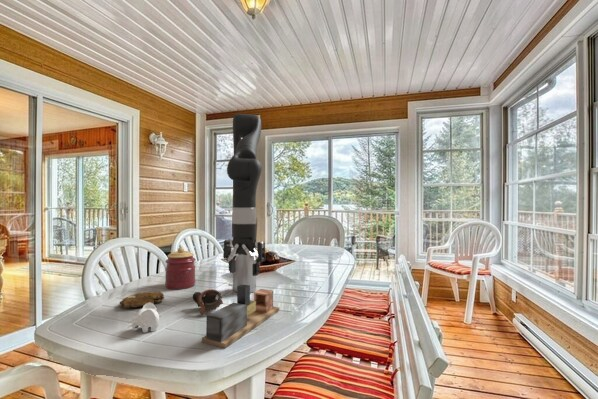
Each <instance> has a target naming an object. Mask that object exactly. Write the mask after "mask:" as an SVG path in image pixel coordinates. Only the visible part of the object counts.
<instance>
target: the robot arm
mask: <svg viewBox="0 0 598 399" xmlns="http://www.w3.org/2000/svg"><path fill="white" fill-rule="evenodd" d="M261 134H262V119H261V117H260V116H259V115H257V114H249V113H248V114H246V113H235V114H234V115H233V119H232V138H233V145H232V146H233V155H232V157H231V158H230V159H229V160H228V163H227V165H226V174H227V176H228V177H229V179H230V180H232V213H231V237H232V239H231V238H229V239H224V240H223V252H222V253H223V254H222V255H223V256H222V257H223V259H226V260H227V262H228V271H229V273H230V274H232V291H234V292H235V293H237V286H239V285H242V284H243V285H250V294H251V293H254V292H256V291H257V276H258V275H259V274H260V270H261V269H260V265H261V263H262V262H265V261H266V260H267V259H266V257H267V256H266V243H265V241H264V240H263V241H257V231H258V217H257V210H256V208H257V207H256V199H257V197H256V196H257V188H258V184H259V181H260V178H261V174H262V168H263V167H262V164H261V162H260V160H259V159H257V148H258V144H259V142H260V137H261ZM232 248H233V249H232Z"/></svg>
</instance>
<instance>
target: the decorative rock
mask: <svg viewBox="0 0 598 399" xmlns="http://www.w3.org/2000/svg"><path fill="white" fill-rule="evenodd" d="M163 300H165V295H164V293H163V292H160V291H155V292H154V291H153V292H150V291H149V292H138V293H132V294H131V295H128V296H126V297H124V298H123V299H122V300H121V301H119V307H120V309H121V308H122V309H123V308H124V309H133V308H134V309H135V308H140V307H143V306H144V305H145V304H146V303H149V302H150V303H153V304H154V305H156V304H161V303H162V301H163Z"/></svg>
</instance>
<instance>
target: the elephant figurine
mask: <svg viewBox="0 0 598 399" xmlns="http://www.w3.org/2000/svg"><path fill="white" fill-rule="evenodd" d="M157 310H158V308H157V306H156V304H153V303H150V302H149V303H146V304H145V305H144V306H142V308H140V309H139V310H138V311H137V313H136V315H135V317H134V318H133V319H132V320H131V321H129V323H128V324H130V325H129V326H128V327H127V329H129V328H132V330H133V331H137V330H138V329H139V327H140V328H141V329H142V332H143V333H148V332H149V328H150V331H151V332H156V331H157V330H158V328H159V326H160V318H161V317H162V316H163V315H164V313H162V314H159V312H158V311H157Z"/></svg>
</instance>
